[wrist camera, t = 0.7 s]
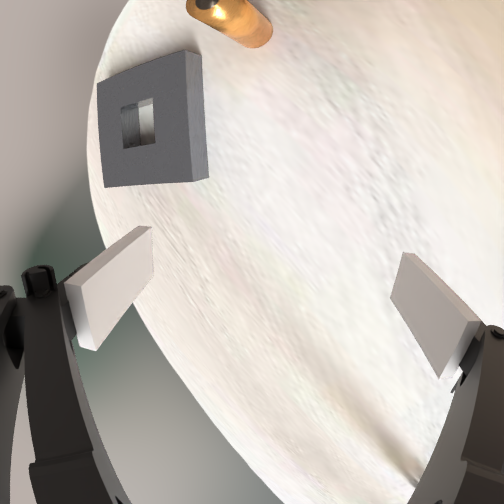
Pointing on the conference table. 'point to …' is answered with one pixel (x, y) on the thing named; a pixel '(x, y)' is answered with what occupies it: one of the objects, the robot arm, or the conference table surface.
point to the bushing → (233, 20)
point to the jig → (165, 123)
